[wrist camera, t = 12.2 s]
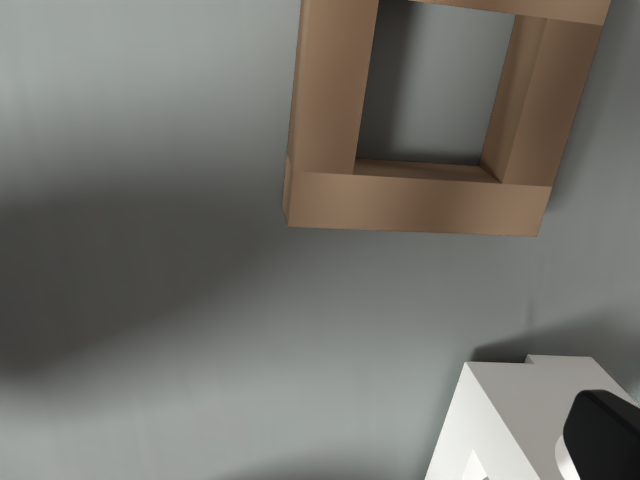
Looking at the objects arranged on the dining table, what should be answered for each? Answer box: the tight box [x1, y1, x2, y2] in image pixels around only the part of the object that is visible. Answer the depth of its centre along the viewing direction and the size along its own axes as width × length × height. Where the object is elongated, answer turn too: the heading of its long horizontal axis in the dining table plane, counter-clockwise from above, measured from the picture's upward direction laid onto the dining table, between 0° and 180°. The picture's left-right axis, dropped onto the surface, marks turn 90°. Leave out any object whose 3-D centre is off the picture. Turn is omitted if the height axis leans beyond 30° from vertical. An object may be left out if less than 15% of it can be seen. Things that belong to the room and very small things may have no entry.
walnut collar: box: [282, 0, 611, 237], centre depth 19 cm, size 10×10×2 cm
